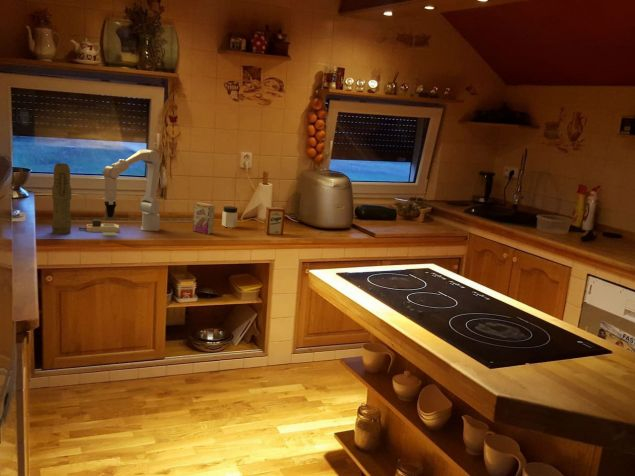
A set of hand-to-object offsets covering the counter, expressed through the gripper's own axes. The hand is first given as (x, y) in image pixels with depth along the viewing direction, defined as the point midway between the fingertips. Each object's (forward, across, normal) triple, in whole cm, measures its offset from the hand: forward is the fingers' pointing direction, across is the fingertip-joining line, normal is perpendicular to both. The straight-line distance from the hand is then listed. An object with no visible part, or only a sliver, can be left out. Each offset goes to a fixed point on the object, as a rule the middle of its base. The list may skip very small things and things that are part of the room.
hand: (110, 216), depth 309 cm
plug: (+7, -10, -6) cm, 14 cm away
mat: (+10, 0, 0) cm, 10 cm away
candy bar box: (+10, -9, +50) cm, 52 cm away
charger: (+2, 0, 0) cm, 2 cm away
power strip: (+10, -10, -5) cm, 15 cm away
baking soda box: (+10, -7, +91) cm, 92 cm away
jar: (+10, -26, +69) cm, 74 cm away
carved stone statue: (+10, -4, -23) cm, 25 cm away
